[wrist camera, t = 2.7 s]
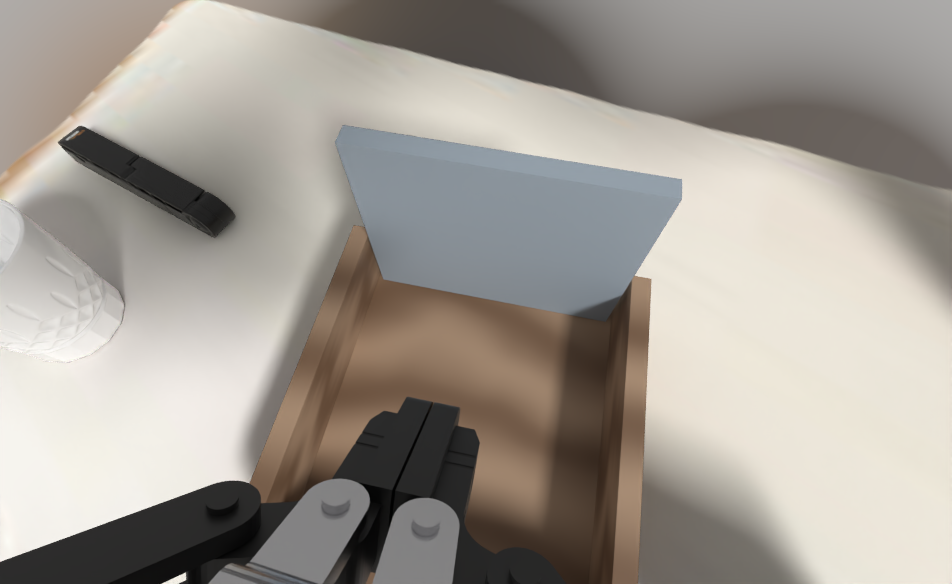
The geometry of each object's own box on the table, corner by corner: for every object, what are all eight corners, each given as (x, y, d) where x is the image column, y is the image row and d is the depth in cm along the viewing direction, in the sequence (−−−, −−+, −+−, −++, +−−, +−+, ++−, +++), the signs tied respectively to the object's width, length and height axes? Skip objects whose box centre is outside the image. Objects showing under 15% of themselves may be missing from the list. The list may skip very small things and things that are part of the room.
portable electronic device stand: (241, 221, 40) (225, 199, 38) (220, 243, 39) (201, 222, 37) (98, 144, 44) (74, 119, 42) (75, 162, 43) (49, 138, 41)
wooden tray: (599, 633, 27) (634, 660, 21) (271, 550, 29) (220, 554, 23) (622, 320, 36) (651, 279, 30) (372, 272, 38) (353, 225, 32)
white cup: (53, 393, 33) (-101, 341, 24) (2, 325, 35) (-155, 255, 27) (153, 316, 36) (48, 245, 27) (100, 258, 38) (-13, 175, 29)
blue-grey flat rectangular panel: (605, 321, 34) (681, 199, 22) (383, 279, 36) (334, 142, 23) (607, 297, 35) (682, 166, 22) (391, 257, 36) (348, 113, 24)
